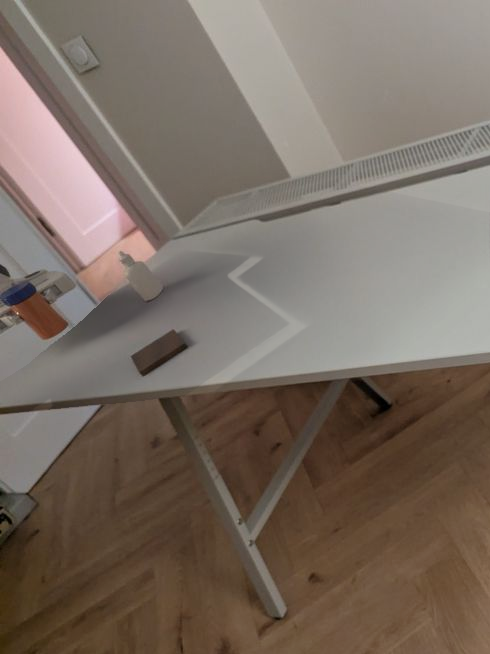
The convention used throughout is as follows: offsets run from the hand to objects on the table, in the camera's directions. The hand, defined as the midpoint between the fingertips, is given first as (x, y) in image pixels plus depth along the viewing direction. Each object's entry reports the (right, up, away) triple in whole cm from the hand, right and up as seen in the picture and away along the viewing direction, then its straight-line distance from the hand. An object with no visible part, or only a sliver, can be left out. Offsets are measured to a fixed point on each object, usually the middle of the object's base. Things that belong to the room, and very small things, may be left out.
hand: (34, 309), depth 112 cm
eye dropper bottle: (+17, +4, +15) cm, 23 cm away
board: (+32, -9, -10) cm, 35 cm away
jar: (+1, -4, +4) cm, 6 cm away
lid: (-2, +4, -2) cm, 5 cm away
